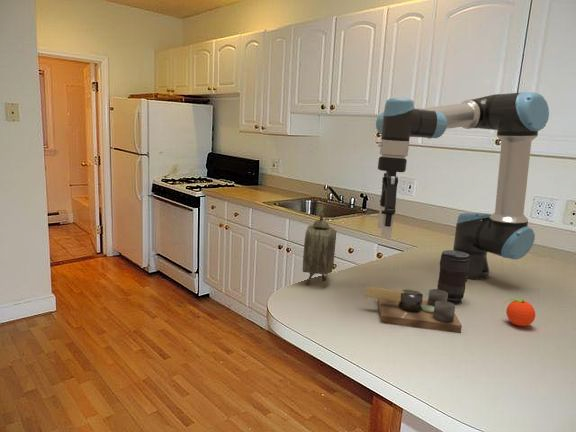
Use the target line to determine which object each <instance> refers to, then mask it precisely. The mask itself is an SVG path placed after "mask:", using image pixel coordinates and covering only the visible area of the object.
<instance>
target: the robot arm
mask: <svg viewBox="0 0 576 432" xmlns="http://www.w3.org/2000/svg"><path fill="white" fill-rule="evenodd" d="M414 104H415V101H414V100H413V99H411V98H402V97H397V98H396V97H391V98H387V100H386V101H385V104H384V110H383V112H381V113H380V114H379V115H378V116H377V118H376V121H375V128H376V130H377V132H378V133H379V134H380V135H381V136H380V137H381V139H380V142H379V143H378V144H377V145H378V147H379V154H380V155H381V156H379V158H378V162H377V170H379V171H383V172H384V174H383V176H382V183H381V196H380V200H379V205H380V206H379V212H378V213H379V214H378V221H377V229H380V239H388V240H389V239H390V240H391V239H392V234H393V224H394V217H395V216H394V215H395V214H396V204H397V191H398V184H399V176H397V173H405V172H406V171H407V170H406V169H407V159H406V158H407V157H408V155H409V148H410V138H423V139H425V138H426V139H429V140H430V139H438V138H439V139H440V137H441V136H443V135H444V134H445V132H446V130H447V129H449V130H450V129H455V128H456V129H457V128H463V129H466V130H469V129H481V130H494V131H497V132H496V137H497V138H498V140H500V142H501V143H500V152H499V153H500V156H499V163H498V176H497V184H496V185H497V186H496V187H497V188H496V196H495V209H494V212H493V213H484V212H462V213H460V214H459V215H458V216H457V221H456V226H455V233H454V241H453V248H452V250H454V251H460V252H465V253H467V254H469V267H468V272H467V280H468V279H469V280H487V279H488V278H489V276H490V268H489V267H490V266H489V262H488V258H487V255H488V253H491V254H494V255H497V256H499V257H502V258H503V259H511V260H519V259H522V258H525V256H526V255H527V254H528V253H529V252H530V251H531V249H532V248H533V245H534V243H535V240H536V239H535V238H536V235H535V232H534V230H533V229H532V228H531V227H530V226H528V225H529V224H528V223H529V219H528V217H527V216H525V206H526V205H525V204H526V203H525V202H526V195H527V186H528V177H529V167H530V166H529V165H530V157H531V147H532V141H534V140H535V139H536V138H538V135H539V134H538V133H539V131H542V130H543V129H544V128H545V127H546V126H547V123H548V121H549V116H550V108H549V104H548V102H547V100H546V98H545V97H544V96H543V95H542V94H541V93H538V92H534V91H533V92H531V91H530V92H528V91H524V92H523V91H522V92H513V93H512V92H511V93H497V94H490V95H486V96H482V97H481V96H480V97H478V98H472V99H465V100H463V101H462V102H461V103H458V104H457V103H456V104H447V105H439V106H438V105H436V106H430V107H422V108H421V107H420V108H415V105H414Z"/></svg>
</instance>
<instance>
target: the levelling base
mask: <svg viewBox="0 0 576 432" xmlns="http://www.w3.org/2000/svg"><path fill="white" fill-rule="evenodd" d="M447 298H448V293H447V292H445V291H443V290H439V289H437V288H433V289H429V291H428V298H427V300H424V299H422V306H421V310H420V311H418V312H411V311H406V310H403V309H401V308H400V307H399V301H392V300H383V299H377V306H378V311H379V319H380V324H387V325H388V324H389V325H395V326H396V325H397V326H404V327H411V328H419V329H427V330H437V331H441V332H442V331H444V332H451V333H460V334H461V333H462V325H463V324H462V323H461V321H460V320H459V318H458V316H457V315H456V313H455V312H456V304H453V303H450V302H447Z"/></svg>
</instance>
